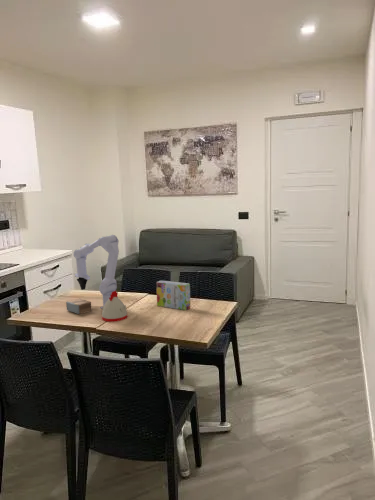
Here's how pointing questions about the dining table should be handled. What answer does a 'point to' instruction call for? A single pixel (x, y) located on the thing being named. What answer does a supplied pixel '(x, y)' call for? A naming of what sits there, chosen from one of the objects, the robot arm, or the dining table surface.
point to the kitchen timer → (114, 309)
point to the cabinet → (82, 305)
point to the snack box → (173, 294)
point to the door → (72, 307)
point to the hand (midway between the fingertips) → (83, 289)
